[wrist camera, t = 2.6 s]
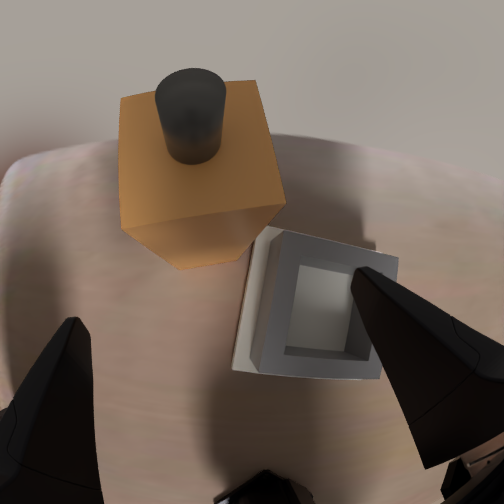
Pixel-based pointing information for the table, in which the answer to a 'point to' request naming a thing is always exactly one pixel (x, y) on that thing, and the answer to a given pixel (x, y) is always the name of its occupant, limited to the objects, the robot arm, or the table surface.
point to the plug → (197, 168)
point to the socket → (306, 309)
